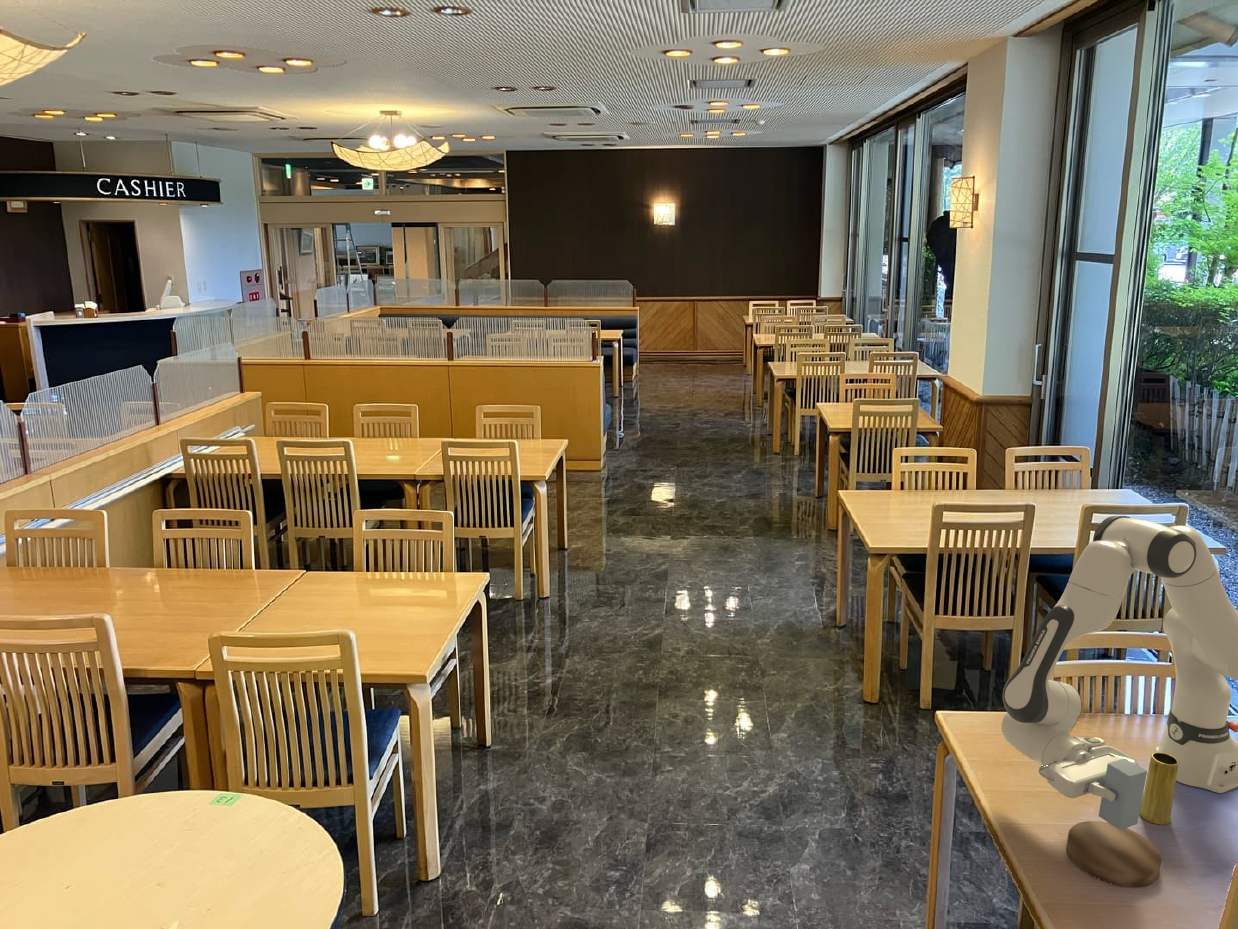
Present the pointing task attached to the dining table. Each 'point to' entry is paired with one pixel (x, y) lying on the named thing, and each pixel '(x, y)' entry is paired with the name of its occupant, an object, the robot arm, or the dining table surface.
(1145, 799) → the vase
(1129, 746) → the dining table surface
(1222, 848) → the dining table surface
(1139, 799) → the gray block
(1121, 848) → the walnut base
